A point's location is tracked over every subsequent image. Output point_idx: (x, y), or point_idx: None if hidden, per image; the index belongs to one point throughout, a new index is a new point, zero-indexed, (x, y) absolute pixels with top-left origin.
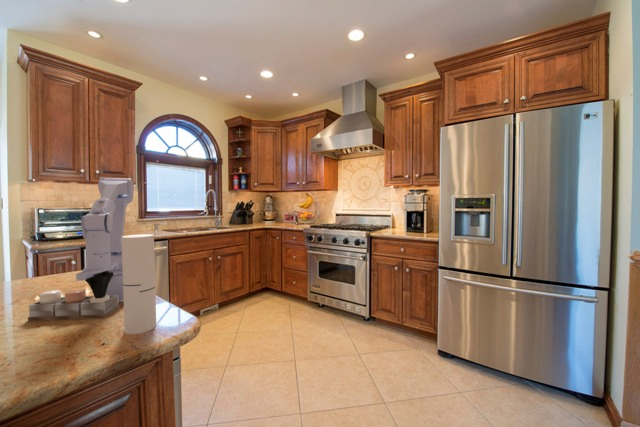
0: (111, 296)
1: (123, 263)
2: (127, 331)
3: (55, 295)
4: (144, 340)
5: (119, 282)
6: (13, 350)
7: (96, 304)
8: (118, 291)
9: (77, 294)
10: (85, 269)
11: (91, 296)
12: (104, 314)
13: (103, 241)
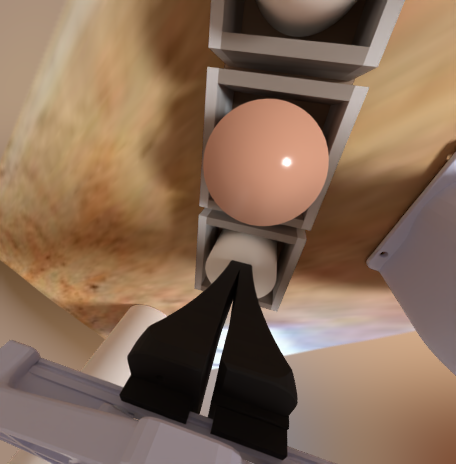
0: (277, 292)
1: None
2: (125, 313)
3: None
4: (112, 327)
5: (446, 336)
6: (30, 130)
7: (198, 265)
8: (413, 285)
9: (220, 203)
10: (86, 461)
11: (311, 216)
12: None
13: None
